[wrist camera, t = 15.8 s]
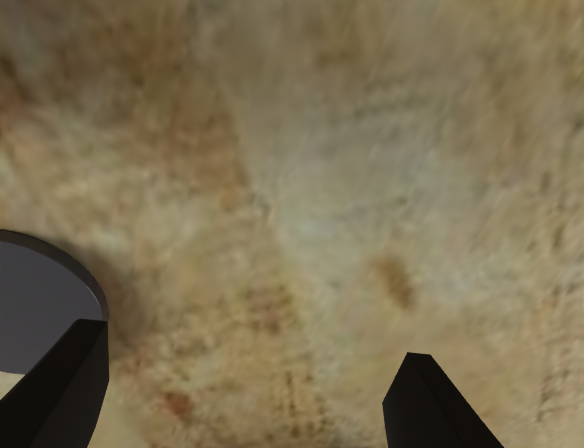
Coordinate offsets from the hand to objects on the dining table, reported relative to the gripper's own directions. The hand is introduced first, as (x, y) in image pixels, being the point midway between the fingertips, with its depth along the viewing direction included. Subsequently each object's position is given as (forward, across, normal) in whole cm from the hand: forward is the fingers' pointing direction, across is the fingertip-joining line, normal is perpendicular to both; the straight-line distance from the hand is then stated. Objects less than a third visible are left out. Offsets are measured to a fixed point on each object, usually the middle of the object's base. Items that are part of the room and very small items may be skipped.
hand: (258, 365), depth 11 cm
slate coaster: (+10, +11, +9) cm, 17 cm away
